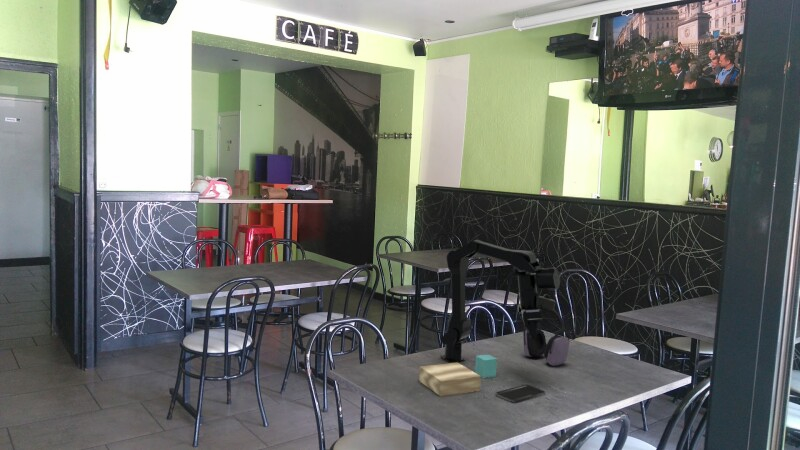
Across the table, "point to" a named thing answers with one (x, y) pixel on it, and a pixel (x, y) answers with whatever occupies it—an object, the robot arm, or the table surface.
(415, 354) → the table surface
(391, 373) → the table surface
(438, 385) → the oak box
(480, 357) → the teal cube
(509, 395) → the phone
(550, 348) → the headphones
